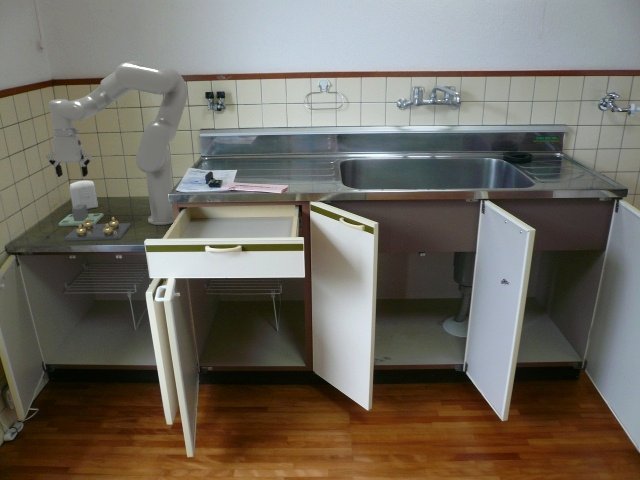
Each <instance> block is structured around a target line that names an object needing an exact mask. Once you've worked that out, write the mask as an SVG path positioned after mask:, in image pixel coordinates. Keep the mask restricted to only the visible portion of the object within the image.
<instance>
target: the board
mask: <svg viewBox="0 0 640 480" xmlns="http://www.w3.org/2000/svg"><path fill="white" fill-rule="evenodd" d="M103 217H104V213H101V212H100V213H88V209H87V206H86V204H79V205H76V206H75V207H74V208H73V207H72V208H71V214H68V215H66V217H64V218H63V219H61V221H59V222H58V226H59V227H63V226H64V227H68V226H69V227H70V226H78V225H79V224H81V225H83V223H84V222H86V219H85V218H88V220H89V221H91V222H92V224H98V222H99V221H100V220H101V219H102V218H103Z"/></svg>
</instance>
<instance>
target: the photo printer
mask: <svg viewBox="0 0 640 480" xmlns="http://www.w3.org/2000/svg"><path fill="white" fill-rule="evenodd" d="M69 193H70V198H71V199H70V200H71V205H72V209H73V208H74V207H75V206H76V205H79V204H86V206H87V210H88V209H94V208H99V202H98V198H97V197H98V196H97V192H96V185H95V183H94V181H93V180H78V181H74V182H72V183H70V184H69Z"/></svg>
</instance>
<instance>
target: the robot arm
mask: <svg viewBox="0 0 640 480" xmlns="http://www.w3.org/2000/svg"><path fill="white" fill-rule="evenodd" d="M133 90H135V91H139V92H145V93H147V94H148V93H149V94H154V95H163V97H162V99H161V102H160V104H159V108H158V111H157V114H156V116H155V119H154V120H153V121H152V120H151V122H149V123H148V124H147V126H146V127H145V128H144V131H143V133H142V136H141V139H140V141H139V142H140V143H139V145H138V148H137V151H136V155H135V164H136V165H137V168H138V169H139V170H140V171H141V172H143V173H145V177H146V179H145V180H146V185H147V193H148V200H149V207H150V216H148V218H147V220H148V221H147V222H148V223H149V224H151V225H155V226H156V225H157V226H160V225H161V226H164V225H165V226H166V225H171V224H174V223H175V222H174V215H173V209H172V204H171V203H169V201H168V194H169V193H170V191H171V190H172V189H173V180H172V167H171V166H172V165H171V161H172V159H171V152H170V150H169V149H168V145H169V144H170V143H171V142H172V141H173V140H174V139H175V137H176V136H177V131H178V129H179V125H180V123H181V119H182V116H183V113H184V109H185V107H186V103H187V100H188V87H187V85H186V81H185V80H184V77H182V75H181V74H180V73H179V72H178V71H177V70H175V69H173V68H170V67H162V68H159V69H155V68H150V67H145V66H144V64H143V63H141V62H139V61H137V60H131V61H126V62H122V63H119V65H118V66H117V67H116V69H115V71H113V72H112V73H111V74H109V75H107V76H106V77H105V78H103V79H102V80H100V84H99V86H98V87H97V88H96V89H94V90H93V91H92V92H90V93H89V94H87V95H86V96H83V97H81V98H77V99H74V100H69V99H66V98H64V99H63V98H58V99H57V98H56V99H52V100H50V101H49V102H48V108H49V113H50V119H51V122H52V123H51V124H52V129H53V135H54V136H53V137H52V138H53V139H52V146H53V149H52V150H53V151H52V152H50V153H48V154H47V155H46V156H45V157H46V159H47V160H48V162H49V163H50V164H51V165H52V166H53V167H54V169H55V173H56V175H57V178H60V177H62V176H63V168H62V165H61V164H62V163H79V165H80V166H81V167H80V168H81V173H82V174H81V175H82V177H87V175H88V174H89V171H88V170H89V169H88V165H89V163H91V160H92V158H93V154H91V153H89V152H87V151H84V147H83V144H82V140H81V139H80V135H79V133H80V130H79V129H77V128H76V127H75V121H76V122H80V121H84V120H87V119H89V118H91V117H94V116H95V115H97V114H98V113H100V112H102V111H104V109H106V108H108V107H109V106H110V105H112V104H113V103H115V102H117V101H118V100H120V99H121V98H122V97H124V96H126V95H127V94H129V93H130V92H131V91H133ZM53 157H54V158H53ZM85 158H86V160H85ZM173 190H174V189H173ZM173 222H174V223H173Z"/></svg>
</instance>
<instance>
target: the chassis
mask: <svg viewBox="0 0 640 480" xmlns="http://www.w3.org/2000/svg"><path fill="white" fill-rule="evenodd" d="M85 219H86V222H84V223H83V225H81V224H79V225H76V227H74V229H73V230H71V231H70V232H69V233H68V234H67V235H66V236H65V237H64V240H65V242H71V241H73V242H75V241H99V240H100V241H106V240H108V241H109V240H110V241H111V240H121V239H122V237H123V236H124V235H125V234H126V232H127V231H128V230H129V228H130V227H131V223H130V222H129V223H125V222H124V223H119V221H118V220H116V219H115V216H111V221H109V222H108V223H96V224H92V222H91V221H89V220H88V218H85Z"/></svg>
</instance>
